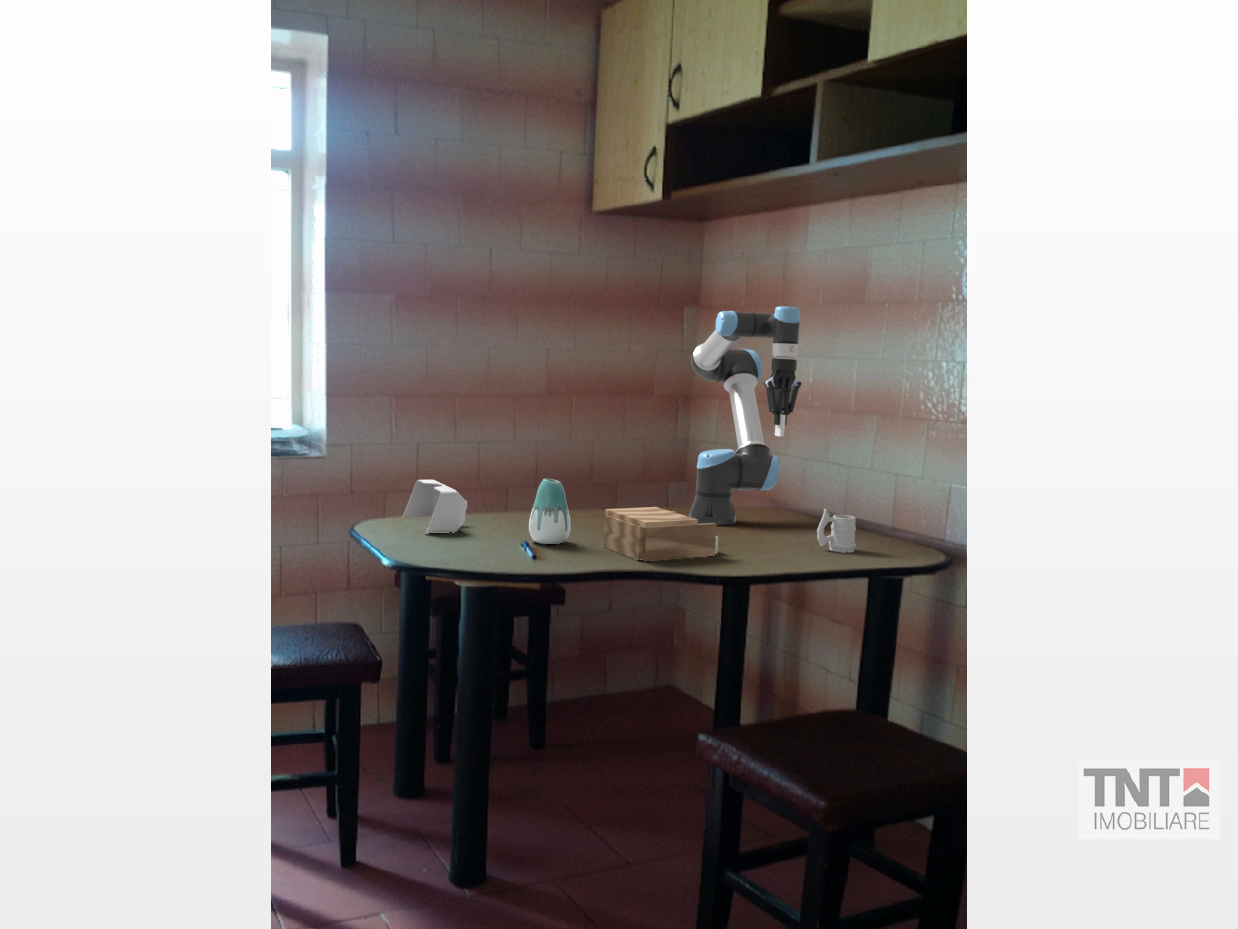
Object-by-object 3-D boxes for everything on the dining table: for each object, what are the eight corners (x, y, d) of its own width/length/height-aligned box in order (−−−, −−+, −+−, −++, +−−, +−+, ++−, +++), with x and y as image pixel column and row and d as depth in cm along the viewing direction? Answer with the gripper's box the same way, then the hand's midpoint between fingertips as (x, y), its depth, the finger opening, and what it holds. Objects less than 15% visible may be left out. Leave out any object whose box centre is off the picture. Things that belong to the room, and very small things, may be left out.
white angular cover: (479, 533, 305) (480, 490, 303) (425, 535, 298) (426, 491, 296) (452, 518, 327) (453, 478, 325) (401, 520, 320) (402, 479, 318)
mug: (860, 553, 301) (863, 511, 300) (821, 553, 299) (824, 511, 297) (848, 547, 309) (851, 507, 307) (810, 547, 306) (813, 506, 305)
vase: (576, 542, 298) (579, 479, 296) (557, 548, 287) (560, 483, 285) (540, 537, 303) (543, 475, 301) (520, 543, 292) (522, 479, 290)
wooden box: (601, 546, 293) (603, 509, 291) (672, 542, 305) (674, 506, 303) (640, 562, 275) (642, 522, 274) (714, 556, 287) (716, 518, 285)
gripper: (775, 357, 312) (770, 437, 315) (809, 359, 319) (804, 437, 321) (759, 356, 319) (754, 434, 321) (793, 358, 325) (788, 434, 328)
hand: (779, 435), depth 321 cm, fingers closed
